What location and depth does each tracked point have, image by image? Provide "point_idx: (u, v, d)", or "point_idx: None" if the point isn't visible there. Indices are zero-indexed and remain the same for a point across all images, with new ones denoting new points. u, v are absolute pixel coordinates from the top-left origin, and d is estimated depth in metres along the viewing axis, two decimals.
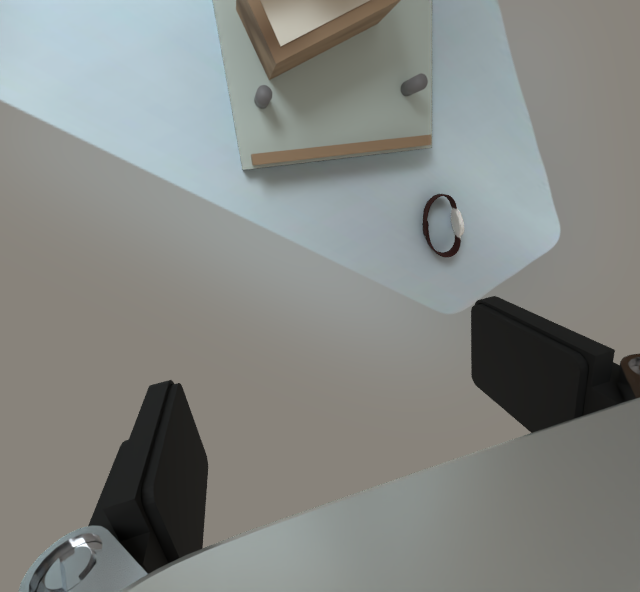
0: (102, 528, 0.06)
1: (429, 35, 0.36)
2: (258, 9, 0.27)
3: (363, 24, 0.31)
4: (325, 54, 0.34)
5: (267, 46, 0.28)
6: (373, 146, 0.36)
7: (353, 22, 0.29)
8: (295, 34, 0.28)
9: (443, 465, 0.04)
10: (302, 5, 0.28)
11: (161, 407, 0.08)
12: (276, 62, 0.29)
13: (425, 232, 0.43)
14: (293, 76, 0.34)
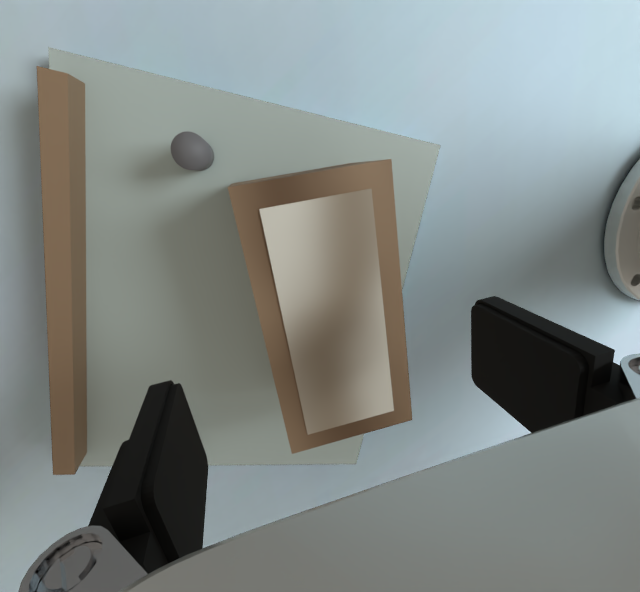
0: (102, 528, 0.06)
1: (249, 461, 0.23)
2: (334, 183, 0.13)
3: None
4: None
5: (266, 180, 0.13)
6: (59, 364, 0.17)
7: (272, 366, 0.15)
8: (274, 247, 0.13)
9: (443, 465, 0.04)
10: (319, 274, 0.14)
11: (161, 407, 0.08)
12: (230, 189, 0.12)
13: None
14: (230, 232, 0.18)
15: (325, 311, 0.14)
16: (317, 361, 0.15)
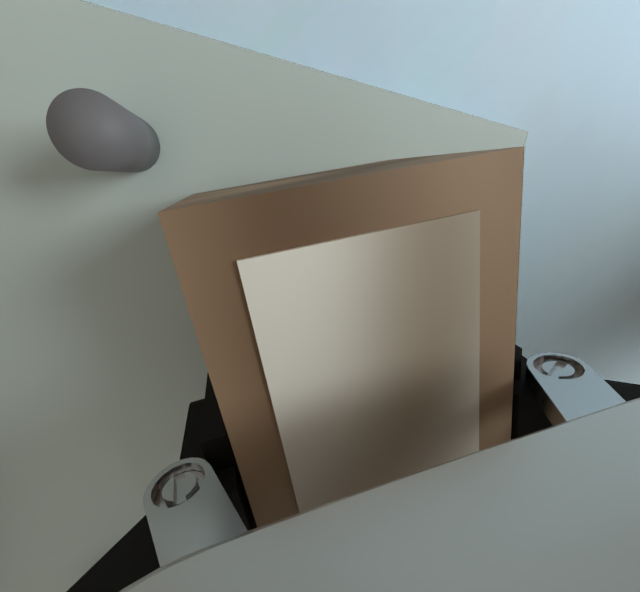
0: (200, 458, 0.07)
1: None
2: (403, 199, 0.06)
3: None
4: None
5: (253, 194, 0.05)
6: None
7: None
8: (272, 341, 0.06)
9: (443, 465, 0.04)
10: (364, 384, 0.07)
11: None
12: (165, 216, 0.05)
13: None
14: None
15: (373, 449, 0.07)
16: None
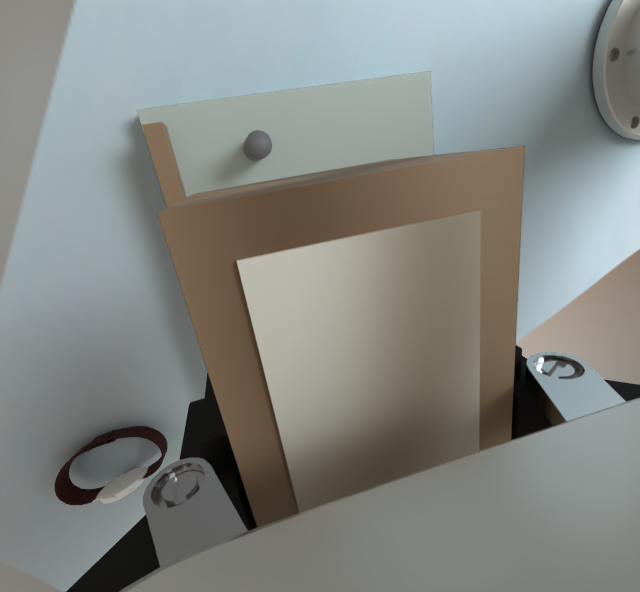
0: (200, 458, 0.07)
1: None
2: (403, 199, 0.06)
3: None
4: None
5: (253, 194, 0.05)
6: None
7: None
8: (272, 341, 0.06)
9: (443, 465, 0.04)
10: (364, 384, 0.07)
11: None
12: (165, 216, 0.05)
13: (95, 441, 0.25)
14: None
15: (373, 450, 0.07)
16: None
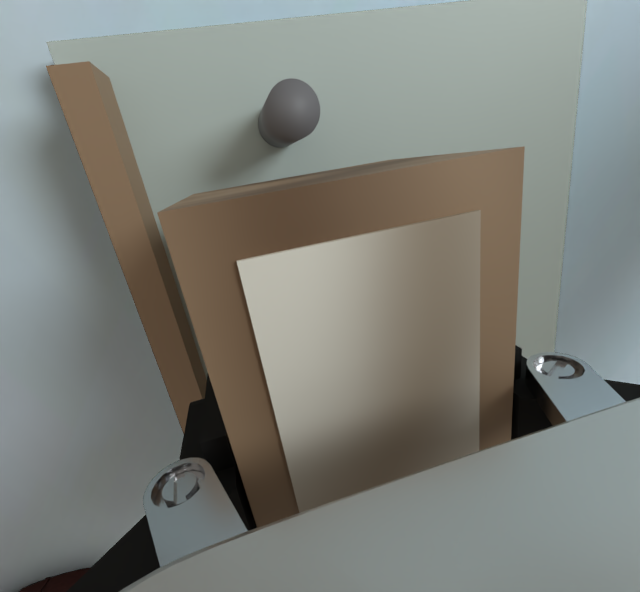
0: (200, 459, 0.07)
1: None
2: (403, 200, 0.06)
3: None
4: None
5: (252, 194, 0.05)
6: None
7: None
8: (272, 341, 0.06)
9: (443, 465, 0.04)
10: (364, 384, 0.07)
11: None
12: (164, 216, 0.05)
13: None
14: None
15: (373, 450, 0.07)
16: None
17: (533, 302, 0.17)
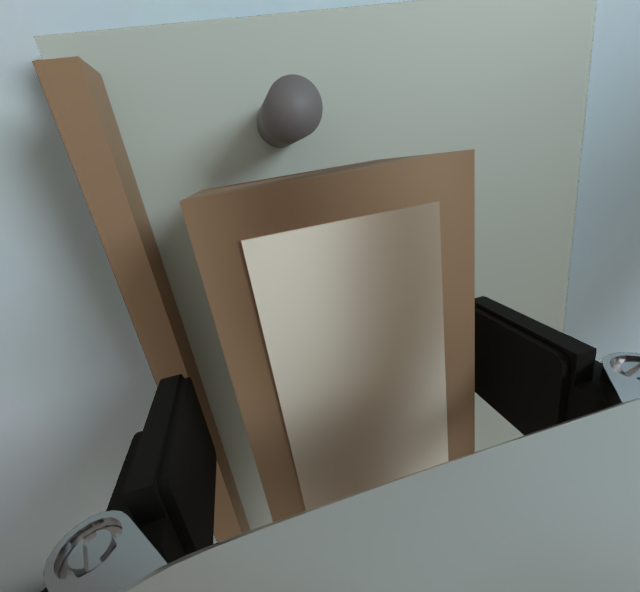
0: (121, 512, 0.06)
1: None
2: (375, 193, 0.07)
3: None
4: None
5: (254, 187, 0.07)
6: None
7: (267, 492, 0.09)
8: (269, 307, 0.07)
9: (443, 465, 0.04)
10: (346, 346, 0.08)
11: (173, 399, 0.08)
12: (185, 204, 0.06)
13: None
14: None
15: (354, 403, 0.09)
16: (340, 478, 0.09)
17: (540, 306, 0.16)
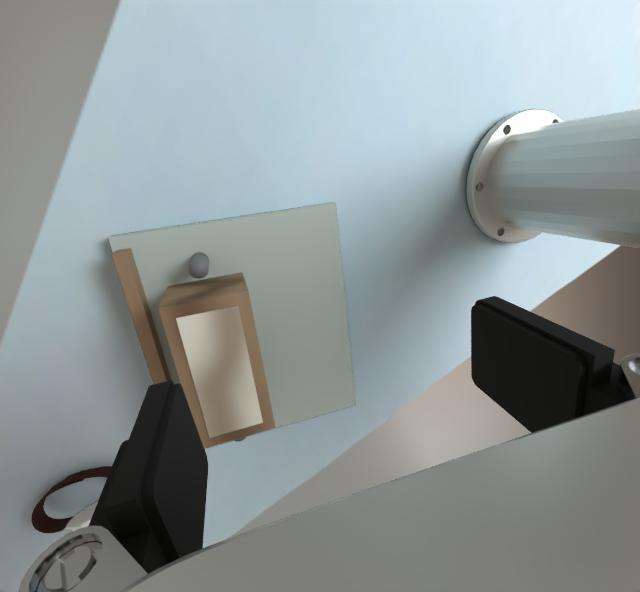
0: (102, 528, 0.06)
1: (287, 422, 0.36)
2: (217, 304, 0.24)
3: None
4: (257, 326, 0.32)
5: (180, 303, 0.24)
6: None
7: None
8: (185, 336, 0.24)
9: (443, 465, 0.04)
10: (211, 349, 0.25)
11: (161, 407, 0.08)
12: (160, 309, 0.24)
13: (67, 480, 0.31)
14: None
15: (216, 368, 0.26)
16: (213, 395, 0.27)
17: (334, 332, 0.34)
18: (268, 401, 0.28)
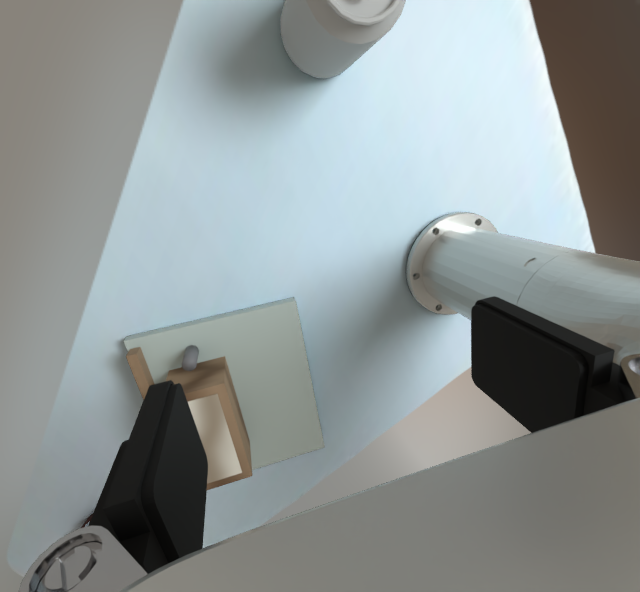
0: (102, 528, 0.06)
1: (268, 463, 0.45)
2: (201, 393, 0.34)
3: None
4: (239, 394, 0.41)
5: None
6: None
7: None
8: None
9: (443, 465, 0.04)
10: (199, 424, 0.35)
11: (161, 407, 0.08)
12: None
13: None
14: None
15: (203, 437, 0.35)
16: None
17: (301, 394, 0.43)
18: (245, 457, 0.37)
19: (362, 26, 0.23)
